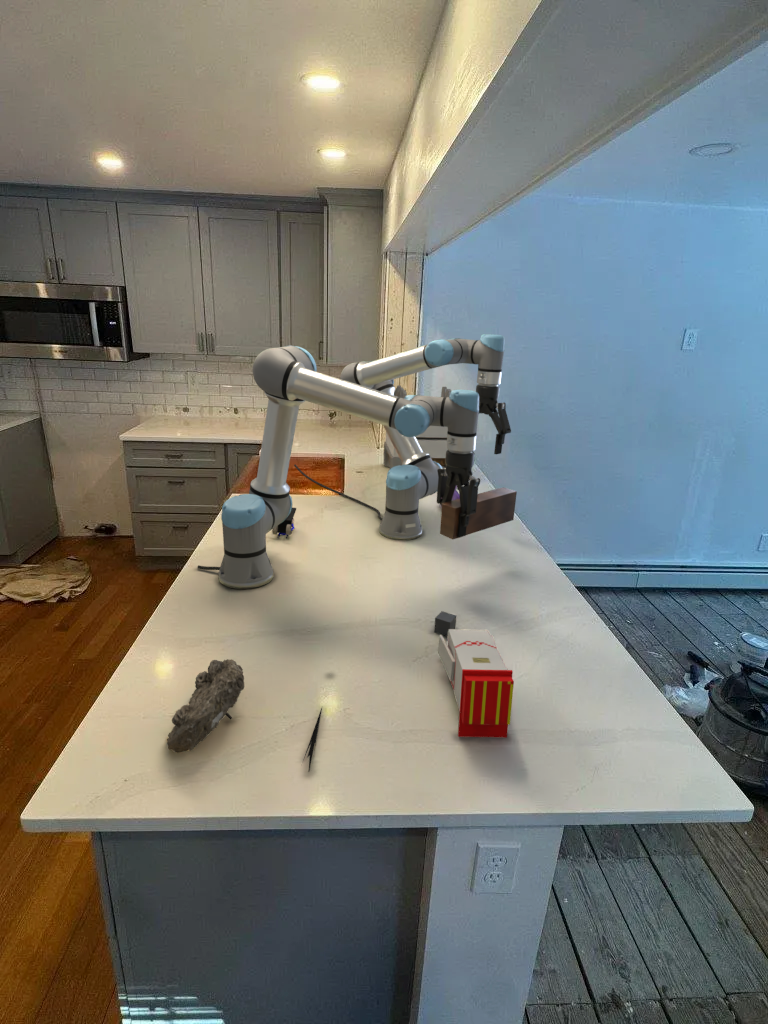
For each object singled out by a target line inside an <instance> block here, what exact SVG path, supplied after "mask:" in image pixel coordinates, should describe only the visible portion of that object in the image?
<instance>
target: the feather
mask: <svg viewBox="0 0 768 1024" xmlns="http://www.w3.org/2000/svg"><path fill="white" fill-rule="evenodd" d="M329 675H330V676H331V675H332V674H331V673H330V674H329ZM322 710H323V707H321V708H320V710H319V713H318V716H317V719H316V723H315V725H314V728H313V731H312V733H311V737H310V739H309V742H308V745H307V748H306V751H305V754H304V757H303V760H302V763H301V767H302V765H303V763H304V761H305V758H308V759H309V760H308V762H307V763H308V764H307V766H308V771H310V770H311V766H312V765H311V764H312V760H313V757H315V756H314V755H315V751H316V749H315V746H317V739H318V733H319V729H320V722H321V717H322V712H323V711H322ZM313 754H314V755H313ZM306 755H307V757H306Z"/></svg>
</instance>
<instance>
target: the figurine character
mask: <svg viewBox="0 0 768 1024" xmlns="http://www.w3.org/2000/svg"><path fill="white" fill-rule="evenodd" d="M296 511H297V507H292V509H291V512H290V514H289V515H288V517H287V518H286V519H285V520H284V521H283V522H282V523H280V524H279V525H278V526H276V527H275V528H273V529H272V530H271V531H272V535H275V536H276V535H277V536H276V538H277V539H280V538H281V536H285V540H287V539H288V538H289V536H290V535H291V534H292V531H293V530H295V519H294V517H295V514H296Z"/></svg>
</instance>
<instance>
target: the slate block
mask: <svg viewBox="0 0 768 1024" xmlns="http://www.w3.org/2000/svg"><path fill="white" fill-rule="evenodd" d="M457 618H458V617H457V615H456V614H453V613H449V612H447V611H443V610H441V611H440V612H439V613H438V614H437V615H436V616H435V618H434V627H433V628H434V629H433V633H436V634H439V635H442V636H446V637H448V629H456V625H457Z"/></svg>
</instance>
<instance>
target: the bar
mask: <svg viewBox="0 0 768 1024" xmlns="http://www.w3.org/2000/svg"><path fill="white" fill-rule="evenodd" d="M517 493H518V492H517V490H514V489H510V488H508V487H504V486H502V487H498V488H495V489H491V490H487V491H483V492H480V493H479V492H478V496H477V508H476V513H475V514H471V515H469V524H468V526H467V527H466V536H469V535H472V534H476V533H478V532H481V531H483V530H487V529H490V528H493V527H497V526H499V525H502V524H506V523H509V522H512V521H514V519H515V511H516V510H515V509H516V503H517ZM459 514H461V505H460V499H456V500H453V501H449V502H445V503H442V508H441V510H440V526H439V534H440V535H441V536H444V537H446V538H447V539H450V540H456V539H459V538H458V537H457V531H458V519H459Z"/></svg>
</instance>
